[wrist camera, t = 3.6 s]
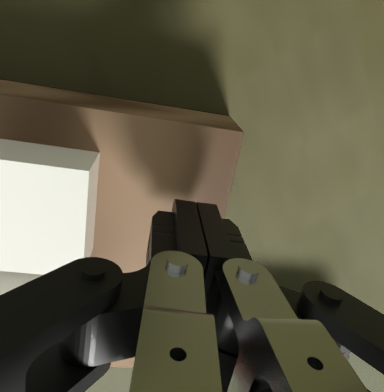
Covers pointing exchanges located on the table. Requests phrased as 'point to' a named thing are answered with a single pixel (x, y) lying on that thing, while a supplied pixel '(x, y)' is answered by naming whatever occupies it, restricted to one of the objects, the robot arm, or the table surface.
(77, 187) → the tile
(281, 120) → the table surface
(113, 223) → the tan flat block
